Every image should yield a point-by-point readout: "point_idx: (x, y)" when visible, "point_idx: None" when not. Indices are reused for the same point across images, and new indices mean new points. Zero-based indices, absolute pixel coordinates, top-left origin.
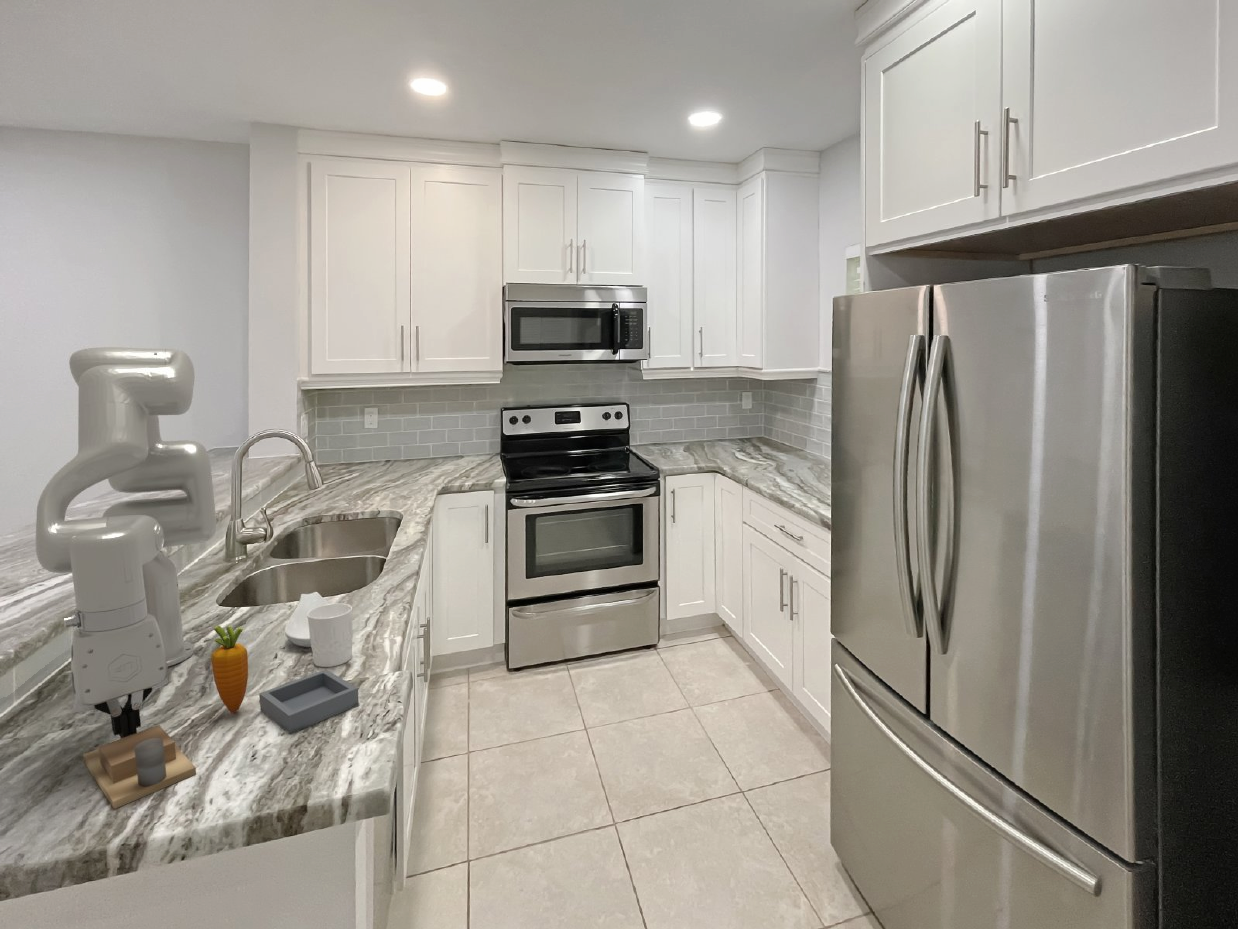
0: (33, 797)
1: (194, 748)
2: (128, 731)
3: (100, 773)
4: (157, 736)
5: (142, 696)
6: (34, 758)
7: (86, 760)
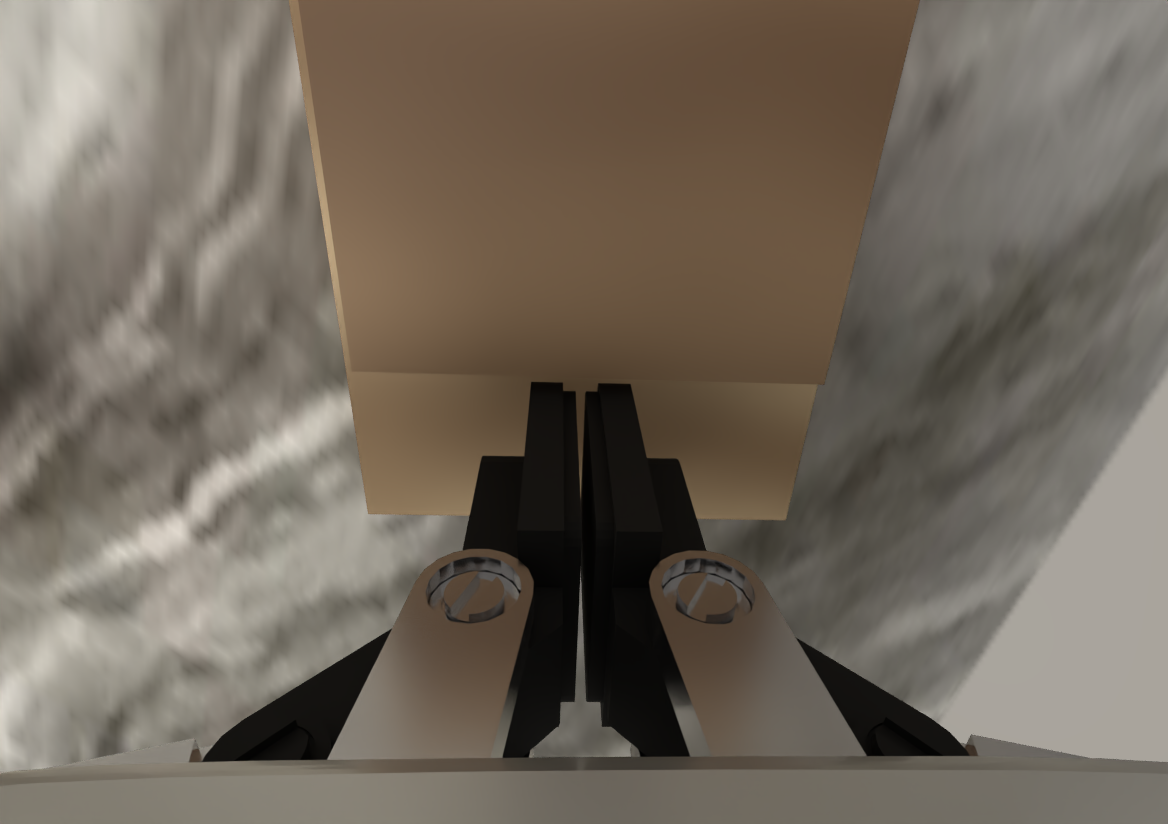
0: (1110, 297)
1: (193, 41)
2: (591, 420)
3: None
4: (404, 119)
5: (370, 682)
6: (880, 680)
7: (802, 439)
